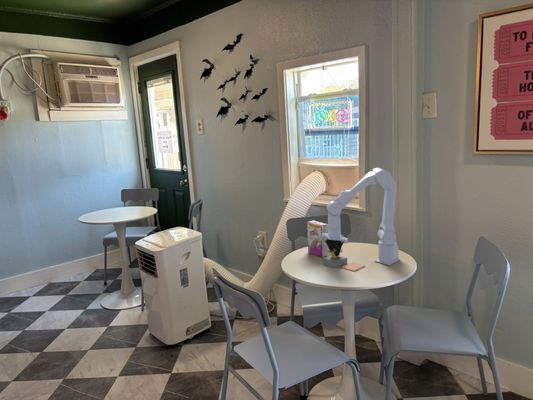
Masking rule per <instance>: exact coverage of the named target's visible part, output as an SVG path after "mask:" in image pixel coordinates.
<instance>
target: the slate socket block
mask: <svg viewBox="0 0 533 400" xmlns="http://www.w3.org/2000/svg"><path fill="white" fill-rule="evenodd" d="M322 264H323V265H325V266H328V267H330V268H335V269H338V268H341V267H342V266H345V265H347V264H348V256H344V255H340V254H339V258H338V259H336V260H335V259H332V258H331V256H326V257H322Z"/></svg>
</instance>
